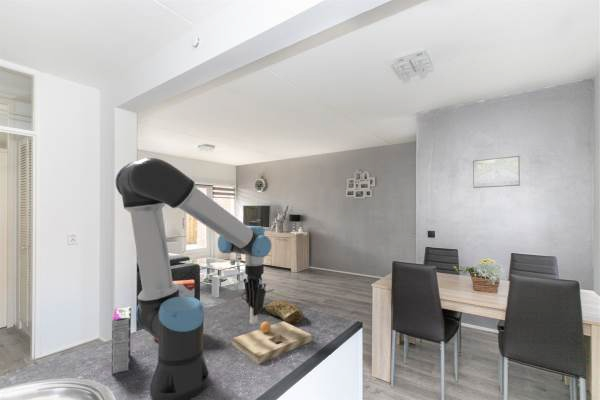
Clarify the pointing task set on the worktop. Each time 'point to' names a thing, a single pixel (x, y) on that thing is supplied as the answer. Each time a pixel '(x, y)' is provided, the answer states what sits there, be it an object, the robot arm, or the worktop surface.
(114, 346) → the candy bar box
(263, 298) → the ceramic cup
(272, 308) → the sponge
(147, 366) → the worktop surface
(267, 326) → the ball
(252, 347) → the board
